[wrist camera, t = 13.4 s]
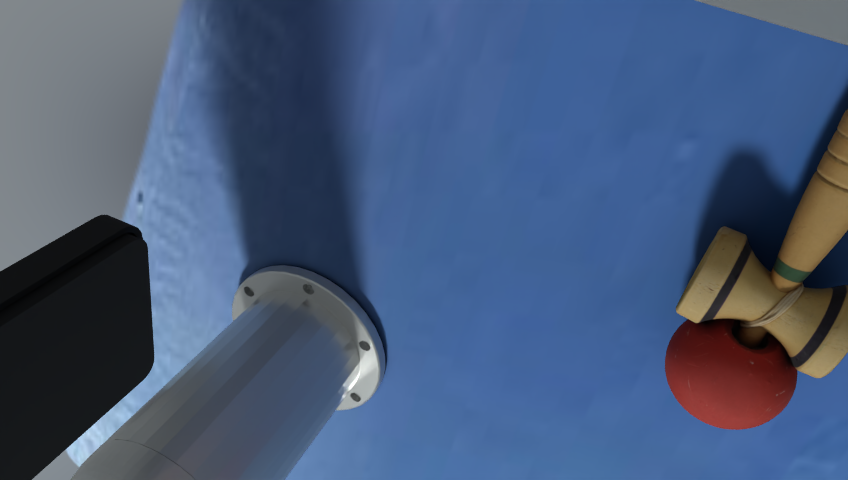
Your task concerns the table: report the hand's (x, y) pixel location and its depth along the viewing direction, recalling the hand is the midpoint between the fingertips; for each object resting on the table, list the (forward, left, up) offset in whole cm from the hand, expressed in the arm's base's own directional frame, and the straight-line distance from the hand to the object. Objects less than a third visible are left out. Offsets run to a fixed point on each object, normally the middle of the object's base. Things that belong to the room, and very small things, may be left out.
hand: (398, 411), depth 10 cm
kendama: (-8, -10, -26) cm, 29 cm away
